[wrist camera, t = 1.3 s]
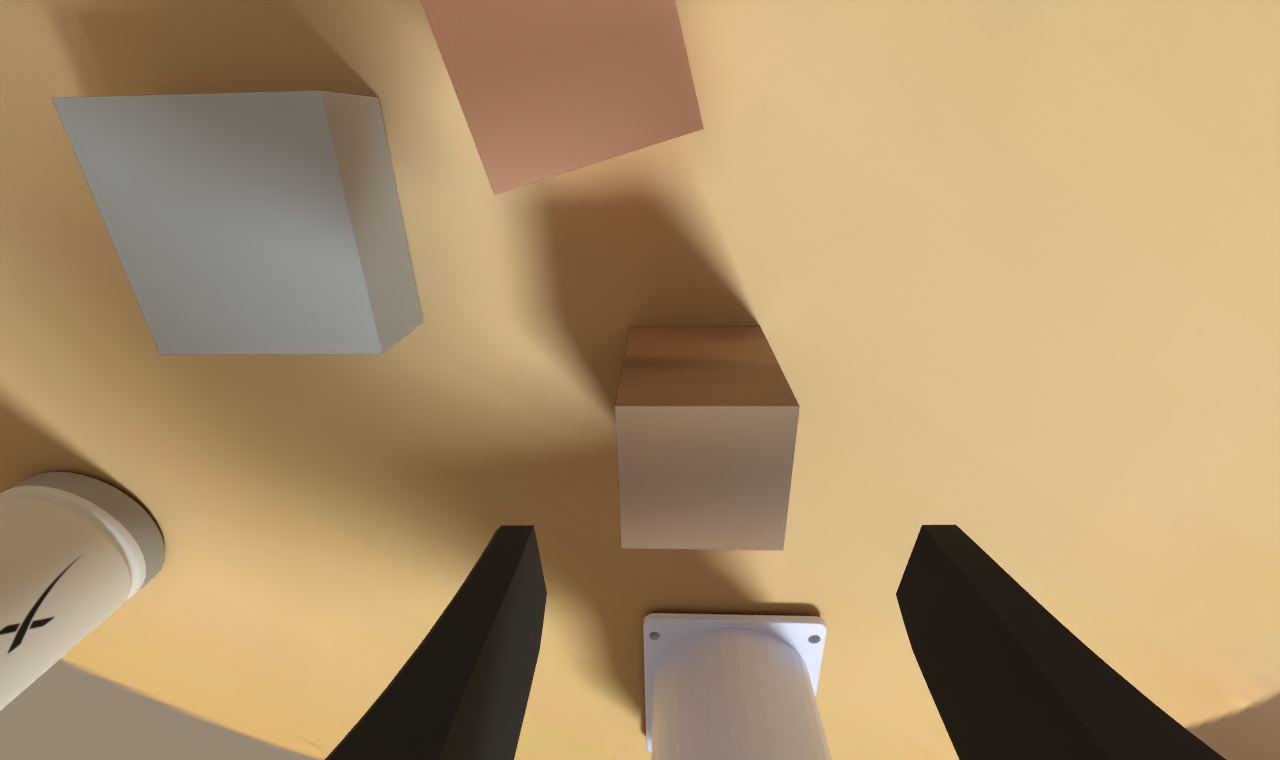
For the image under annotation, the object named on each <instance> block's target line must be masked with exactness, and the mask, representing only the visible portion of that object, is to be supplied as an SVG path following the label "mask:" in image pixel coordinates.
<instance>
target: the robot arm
mask: <svg viewBox="0 0 1280 760" xmlns="http://www.w3.org/2000/svg"><path fill="white" fill-rule="evenodd" d="M546 595H547V592H546V587H545V582H544V577H543V571H542V566H541V561H540V556H539V551H538V545H537V540H536V535H535V530H534V526H501V527H500V528H498V529H497V530H496V532H495V534H494V535H493V537H492V539H491V540H490V542H489V544H488V545H487V547H486V549H485V550H484V552H483V553H482V555H481V557H480V558H479V560H478V561H477V563H476V564H475V566H474V568H473V569H472V571H471V572H470V574H469V575H468V577H467V578H466V580H465V581H464V583H463V584H462V586H461V587H460V589H459V590H458V592H457V593H456V595H455V596H454V598H453V599H452V600H451V602H450V603H449V605H448V606H447V608H446V609H445V610H444V612H443V613H442V615H441V616H440V618H439V619H438V620H437V622H436V623H435V625H434V626H433V627H432V629H431V630H430V632H429V633H428V634H427V636H426V637H425V639H424V640H423V641H422V643H421V644H420V645H419V646H418V648H417V649H416V650H415V652H414V653H413V654H412V656H411V657H410V658H409V659H408V661H407V662H406V663H405V665H404V666H403V667H402V669H401V670H400V671H399V672H398V674H397V675H396V676H395V678H394V679H393V680H392V681H391V683H390V684H389V685H388V687H387V688H386V689H385V690H384V692H383V693H382V694H381V695H380V696H379V698H378V699H377V700H376V701H375V702H374V704H373V705H372V706H371V707H370V709H369V710H368V711H367V712H366V713H365V714H364V716H363V717H362V718H361V719H360V720H359V722H358V723H357V724H356V725H355V726H354V727H353V728H352V730H351V731H350V732H349V733H348V734H347V735H346V736H345V738H344V739H343V740H342V741H341V742H340V743H339V744H338V746H337V747H336V748H335V749H334V750H333V751H332V752H331V753H330V755H329V756H328V757H327V758H326V759H325V760H514V757H515V753H516V748H517V744H518V740H519V736H520V731H521V727H522V723H523V719H524V714H525V710H526V706H527V702H528V697H529V693H530V689H531V685H532V680H533V676H534V672H535V667H536V663H537V658H538V654H539V650H540V643H541V636H542V628H543V620H544V612H545V604H546ZM896 596H897V600H898V603H899V607H900V610H901V614H902V617H903V621H904V624H905V627H906V631H907V634H908V637H909V640H910V643H911V647H912V650H913V652H914V655H915V657H916V660H917V662H918V664H919V667H920V669H921V672H922V674H923V676H924V679H925V681H926V683H927V686H928V688H929V690H930V693H931V695H932V697H933V700H934V702H935V704H936V707H937V709H938V711H939V713H940V716H941V718H942V720H943V723H944V725H945V727H946V730H947V732H948V734H949V737H950V739H951V741H952V743H953V746H954V748H955V750H956V753H957V755H958V757H959V760H1226V759H1224V758H1223V757H1222V756H1220V755H1219V754H1218V753H1217V752H1215V751H1213V750H1212V749H1211V748H1210V747H1209V746H1207V745H1206V744H1205V743H1204V742H1202V741H1201V740H1200V739H1198V738H1197V737H1196V736H1194V735H1193V734H1192V733H1190V732H1189V731H1188V730H1187V729H1185V728H1184V727H1183V726H1181V725H1180V724H1179V723H1178V722H1176V721H1175V720H1174V719H1173V718H1171V717H1170V716H1169V715H1168V714H1166V713H1165V712H1164V711H1163V710H1161V709H1160V708H1159V707H1158V706H1156V705H1155V704H1154V703H1153V702H1152V701H1150V700H1149V699H1148V698H1147V697H1146V696H1144V695H1143V694H1142V693H1141V692H1140V691H1138V690H1137V689H1136V688H1135V687H1134V686H1133V685H1131V684H1130V683H1129V682H1128V681H1127V680H1125V679H1124V678H1123V677H1122V676H1121V675H1119V674H1118V673H1117V672H1116V671H1115V670H1114V669H1112V668H1111V667H1110V666H1109V665H1108V664H1106V663H1105V662H1104V661H1103V660H1102V659H1101V658H1100V657H1098V656H1097V655H1096V654H1095V653H1094V652H1093V651H1092V650H1090V649H1089V648H1088V647H1087V646H1086V645H1085V644H1084V643H1082V642H1081V641H1080V640H1079V639H1078V638H1077V637H1076V636H1075V635H1073V634H1072V633H1071V632H1070V631H1069V630H1068V629H1067V628H1066V627H1065V626H1063V625H1062V624H1061V623H1060V622H1059V621H1058V620H1057V619H1056V618H1055V617H1054V616H1052V615H1051V614H1050V613H1049V612H1048V611H1047V610H1046V609H1045V608H1044V607H1043V606H1042V605H1041V604H1039V603H1038V602H1037V601H1036V600H1035V599H1034V598H1033V597H1032V596H1031V595H1030V594H1029V593H1028V592H1027V591H1026V590H1024V589H1023V588H1022V587H1021V586H1020V585H1019V584H1018V583H1017V582H1016V581H1015V580H1014V579H1013V578H1012V577H1011V576H1010V575H1009V574H1007V573H1006V572H1005V571H1004V570H1003V569H1002V568H1001V567H1000V566H999V565H998V564H997V563H996V562H995V561H994V560H993V559H992V558H991V557H990V556H989V555H988V554H986V553H985V552H984V551H983V550H982V549H981V548H980V547H979V546H978V545H977V544H976V543H975V542H974V541H973V540H972V539H971V538H970V537H968V536H967V535H966V534H965V533H964V532H963V531H962V530H961V529H960V528H959V527H958V526H957V525H922V527H921V529H920V532H919V535H918V537H917V540H916V543H915V545H914V548H913V551H912V553H911V556H910V559H909V561H908V564H907V566H906V569H905V572H904V574H903V577H902V580H901V582H900V585H899V588H898V590H897V593H896ZM643 630H644V668H645V706H646V745H647V750H648V751H649V752H651V753H652V760H832V758H831V754H830V750H829V747H828V743H827V739H826V735H825V732H824V728H823V724H822V720H821V717H820V713H819V709H818V705H817V702H816V692H817V686H818V680H819V674H820V668H821V663H822V657H823V651H824V645H825V639H826V633H827V627H826V624H825V621H824V620H823V619H822V618H820V617H816V616H779V615H726V614H673V613H652V614H649V615H647V616H646V617H645V618H644V625H643ZM654 632H657V633H654ZM812 635H815V636H812Z"/></svg>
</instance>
